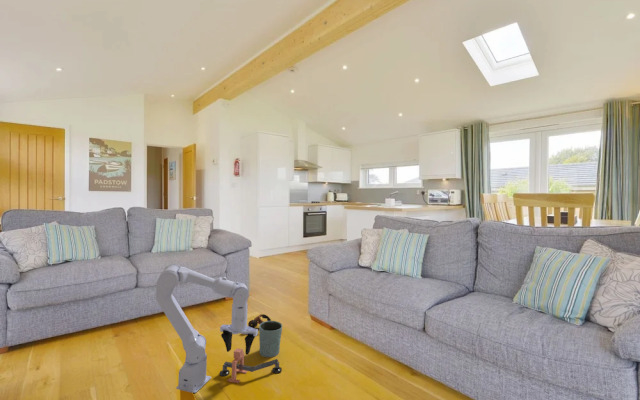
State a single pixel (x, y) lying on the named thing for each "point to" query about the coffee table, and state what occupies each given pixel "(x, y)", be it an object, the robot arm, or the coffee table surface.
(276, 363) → the wheeled bent frame
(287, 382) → the coffee table surface
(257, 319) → the vr controller
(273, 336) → the green tapered cup
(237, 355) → the pink blocky toy figure
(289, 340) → the coffee table surface
